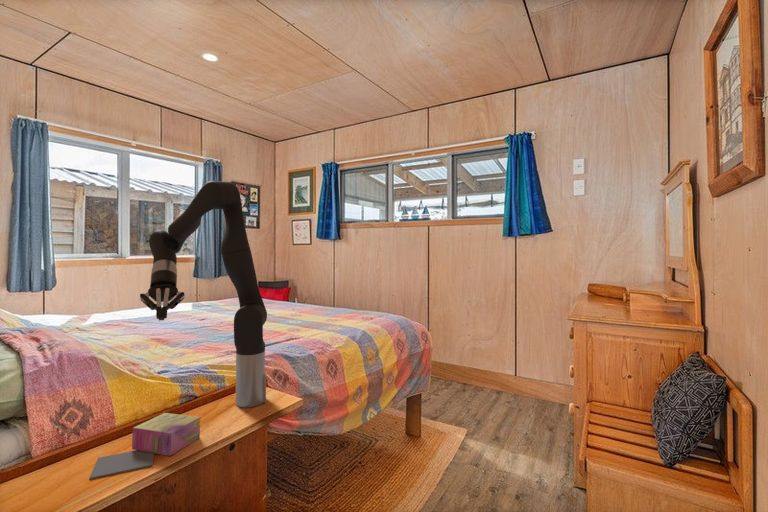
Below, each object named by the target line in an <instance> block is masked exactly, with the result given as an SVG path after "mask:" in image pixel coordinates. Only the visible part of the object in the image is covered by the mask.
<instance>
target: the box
mask: <svg viewBox="0 0 768 512" xmlns="http://www.w3.org/2000/svg"><path fill="white" fill-rule="evenodd" d="M200 433H201V417H200V416H193V415H186V414H179V413H178V414H177V413H171V412H170V413H169V412H163V413H161V414H160V415H157V416H155V417H153V418H151V419H149V420H147V421H145V422H143V423H140V424H138V425H135V426H134V427H132V441H131V449H132V450H133V451H135V450H140V451H146V452H152V453H154V454H158V455H164V456H169V457H170V456H172V455H174V454H175V453H177V452H179V451H180V450H182V449H183V448H185V447H187V446H188V445H189V444H192V443H193V442H195V441H197V440H198V439H200V435H201V434H200Z"/></svg>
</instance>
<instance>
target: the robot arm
mask: <svg viewBox="0 0 768 512" xmlns="http://www.w3.org/2000/svg"><path fill="white" fill-rule="evenodd" d="M241 197H242V196H241V192H240V190H239V188H238V186H237V185H236V184H235V183H233V182H231V181H222V180H209V181H207V182H206V183H205V184H203V186H201V187H200V189H199V191H198V192H197V193H196V195H195V196H194V198H193V199H192V201H191V202H190V203H189V205H188V206H187V207H186V209H185V210H184V211H183V212H182V213H181V214H180V215H179V216H178V217H177V218H175V220H174V221H172V222H171V223H170V224H169V225H168V227H167V231H166V230H163V229H156V230H154V231H153V232H152V233H151V234H150V235H149V238H148V239H149V240H148V244H149V248H150V249H149V250H150V252H151V254H152V257H153V259H152V268H151V273H150V286H149V289H147V292H146V293H139V297H140V299H139V300H140V301H141V302H142V303H143V304H144V305H145V306H146V307H147V308H149V310H151V311H156V314H155V317H156V320H157V319H158V321H159V322H160V321H165V319H167V318H168V310H173V309H175V308H176V307H178V305H179V304H180V303H181V302H183V300H184V299H185V296H186V295H185V292H184V291H181V292H180V291H179V289H178V287H177V286H178V285H177V284H178V283H177V282H178V281H177V280H178V269H177V259H178V258H177V254H178V253H179V252H180V251H181V250H182V248H183V246H184V244H185V242H186V240H187V239H188V238H189V237H190V236H191V235H193V234H194V232H196V231H197V229H198V228H199V227H200V225H201V223H202V217H203V216H204V215H205V214H207V213H209V212H210V211H213V210H222V211H223V216H224V220H225V230H224V234H223V237H222V241H221V245H220V254H221V257H222V262H223V266H224V269H225V271H226V273H227V275H228V277H229V279H230V281H231V283H232V285H233V286H234V288H235V290H236V294H237V298H238V302H239V308H238V309H237V310H236V312H235V314H234V317H233V342H234V343H233V344H234V346H235V405H236V406H237V407H240V408H253V407H257V406H259V405H262V404H265V402H266V403H267V374H266V343H265V341H264V333H263V332H264V330H263V329H264V327H263V326H264V325H265V323H266V322H267V320H268V319H267V318H268V311H267V309H266V305H265V303H264V301H263V298H262V295H261V291H260V289H259V284H258V279H257V274H256V269H255V264H254V258H253V255H252V251H251V247H250V244H249V238H248V235H247V230H246V224H245V219H244V214H243V213H244V212H243V204H242V198H241ZM155 302H156V303H155Z"/></svg>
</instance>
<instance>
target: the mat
mask: <svg viewBox="0 0 768 512" xmlns="http://www.w3.org/2000/svg"><path fill="white" fill-rule="evenodd" d="M154 458H155V453H152V452H146V451H140V450H130V451H126V452H120V453H115V454H109V455H106V456H100V457H97V459H96V461H95V464H94V467H93V469H92V471H91V473H90V476H89V479H88V480H89V481H90V480H94V479H99V478H105V477H108V476H112V475H117V474H118V475H119V474H123V473H127V472H131V471H136V470H140V469H145V468H149V467H150V468H151V467H153V464H154Z"/></svg>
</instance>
